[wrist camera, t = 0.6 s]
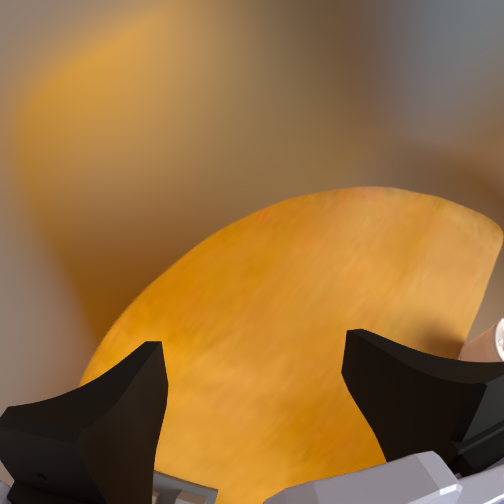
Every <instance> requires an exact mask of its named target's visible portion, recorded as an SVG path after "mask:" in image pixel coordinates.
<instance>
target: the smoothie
mask: <svg viewBox="0 0 504 504" xmlns="http://www.w3.org/2000/svg"><path fill="white" fill-rule="evenodd" d="M460 359H461V361H470V362H504V318H502V319H499V320H498V321H497V322H495V324H494V326H493V327H491V328H490V329H488V330H487V331H485V332H484V333H483V334H481V335H479V336H478V337H476V338H475V339H473V340H472V341H470V342H469V343H467V344H466V345H464V346H463V347H462V349H461V352H460Z"/></svg>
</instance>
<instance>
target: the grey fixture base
mask: <svg viewBox="0 0 504 504" xmlns="http://www.w3.org/2000/svg"><path fill="white" fill-rule="evenodd" d="M217 493H218V490H217V489H213V488H210V487H206V486H202V485H199V484H195V483H192V482H188V481H185V480H182V479H179V478H175V477H172V476H169V475H166V474H164V473H161V472H158V471H155V470H154V474H153V493H152V504H215V500H216V497H217Z"/></svg>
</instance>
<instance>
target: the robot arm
mask: <svg viewBox="0 0 504 504" xmlns="http://www.w3.org/2000/svg"><path fill="white" fill-rule="evenodd" d="M341 373H342V376H343V378H344V381H345V383H346V386H347V388H348V390H349V392H350V394H351V396H352V397H353V399H354V401H355V402H356V404H357V406H358V407H359V409H360V410H361V412H362V414H363V415H364V417H365V418H366V420H367V422H368V423H369V425H370V427H371V428H372V430H373V432H374V434H375V436H376V438H377V440H378V442H379V444H380V447H381V449H382V451H383V454H384V456H385V459H386V461H387V463H384V464H381V465H378V466H374V467H371V468H367V469H363V470H360V471H356V472H352V473H348V474H343V475H339V476H334V477H330V478H325V479H320V480H315V481H310V482H306V483H303V484H300V485H296V486H293V487H289V488H286V489H284V490H282V491H280V492H279V493H277V494H275V495H274V496H272V497H270V498H268V499H267V500H266V501H264V502H263V504H504V362H470V361H461V360H454V359H448V358H443V357H439V356H434V355H430V354H427V353H423V352H420V351H417V350H415V349H412V348H409V347H406V346H404V345H401V344H399V343H396V342H394V341H391V340H389V339H387V338H384V337H382V336H380V335H377V334H375V333H372V332H370V331H367V330H364V329H354V330H347V334H346V342H345V350H344V357H343V365H342V371H341ZM167 396H168V380H167V374H166V368H165V361H164V355H163V348H162V341H146V342H144V343H143V344H142V345H140V346H139V347H138V348H137V349H136V350H134V351H133V352H132V353H131V354H130V355H128V356H127V357H126V358H125V359H123V360H122V361H121V362H120V363H118V364H117V365H115V366H114V367H113V368H111V369H110V370H108V371H107V372H106V373H104V374H103V375H101V376H100V377H98V378H96V379H95V380H93V381H91V382H89V383H87V384H85V385H83V386H81V387H79V388H77V389H75V390H72V391H70V392H67V393H65V394H63V395H60V396H57V397H54V398H51V399H47V400H44V401H40V402H36V403H30V404H24V405H18V406H10V407H8V408H7V409H6V410H5V412H4V413H3V414H2V416H1V417H0V460H1V462H2V463H3V465H4V466H5V468H6V469H7V471H8V472H9V473H10V475H11V476H12V477H13V479H14V480H15V481H14V483H13V485H12V487H10V486H9V485H7V484H6V483H5V482H3V481H1V480H0V504H152V493H153V474H154V462H155V454H156V448H157V444H158V440H159V436H160V431H161V427H162V423H163V419H164V414H165V410H166V406H167Z"/></svg>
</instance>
